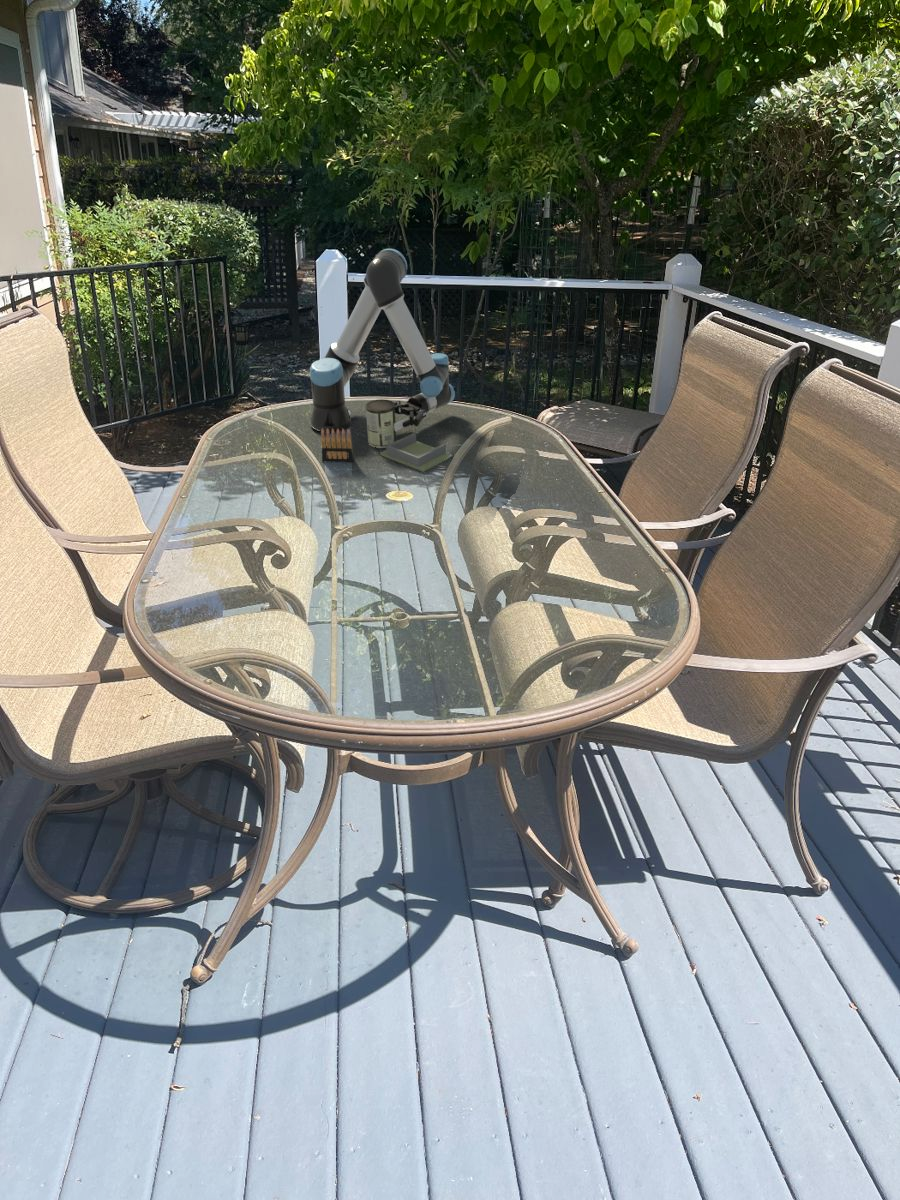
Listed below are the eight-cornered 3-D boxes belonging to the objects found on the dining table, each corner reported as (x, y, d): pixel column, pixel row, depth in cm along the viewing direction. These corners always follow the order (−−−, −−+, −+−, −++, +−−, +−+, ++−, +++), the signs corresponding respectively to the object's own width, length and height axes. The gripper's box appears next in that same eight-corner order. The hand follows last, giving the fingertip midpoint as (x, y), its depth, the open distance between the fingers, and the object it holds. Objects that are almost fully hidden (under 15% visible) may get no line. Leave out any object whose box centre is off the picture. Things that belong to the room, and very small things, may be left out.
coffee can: (379, 433, 320) (376, 397, 312) (402, 440, 315) (400, 402, 307) (361, 444, 313) (359, 406, 305) (385, 450, 308) (383, 412, 300)
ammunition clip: (322, 461, 301) (319, 429, 294) (323, 459, 303) (320, 426, 296) (353, 462, 301) (350, 429, 294) (354, 460, 302) (351, 427, 295)
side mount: (380, 455, 305) (379, 444, 303) (410, 441, 314) (409, 430, 312) (423, 471, 294) (422, 460, 292) (452, 456, 304) (452, 446, 301)
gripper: (447, 422, 317) (407, 441, 304) (397, 405, 331) (356, 423, 318) (447, 402, 313) (406, 421, 300) (396, 386, 326) (355, 403, 313)
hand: (381, 422), depth 309 cm, fingers open, 13 cm apart
